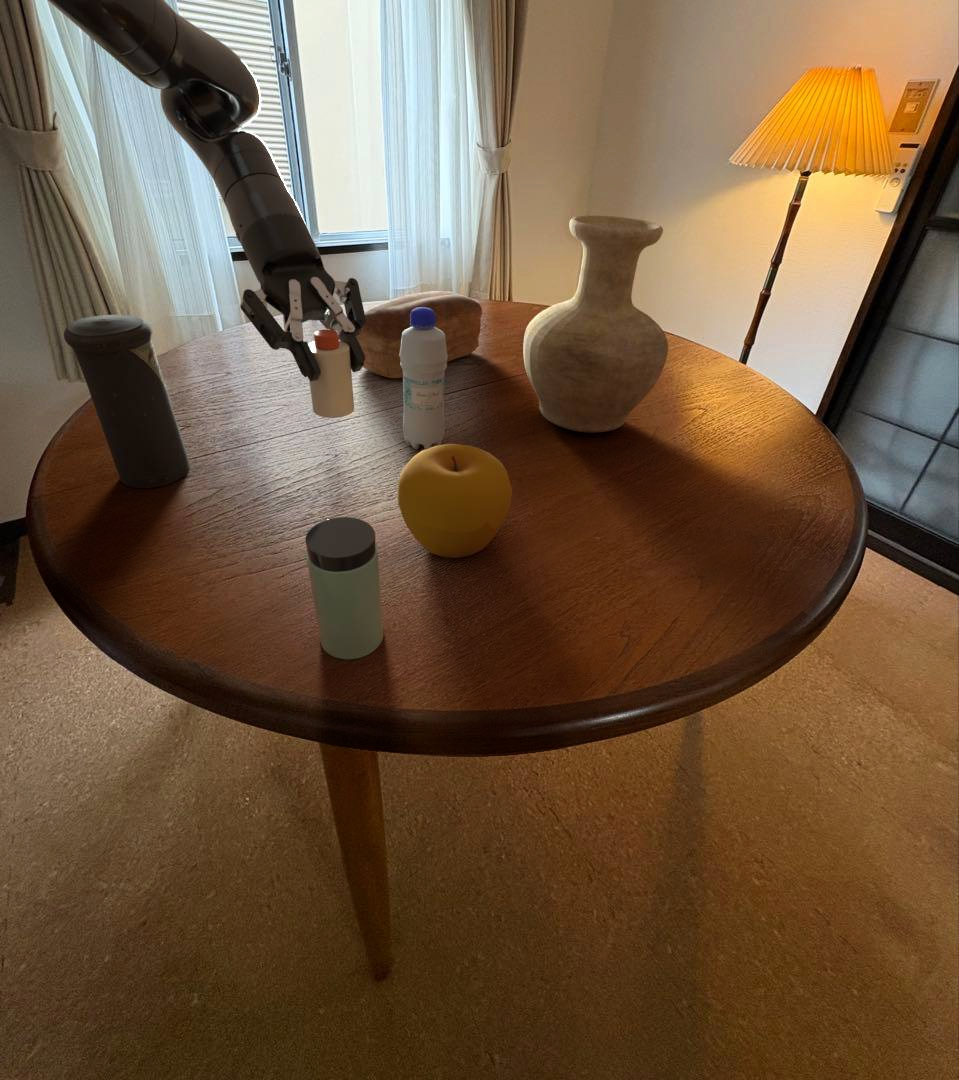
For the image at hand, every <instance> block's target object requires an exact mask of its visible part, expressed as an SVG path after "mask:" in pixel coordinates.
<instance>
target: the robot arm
mask: <svg viewBox="0 0 959 1080" xmlns="http://www.w3.org/2000/svg"><path fill="white" fill-rule="evenodd" d="M47 1H48V2H49V3H50V5H52V6H54V8H56V9H57V10H58V11H59V12H61V14H63V15H64V16H65V17H66V18H68V19H69V20H70V21H71V22H72V23H73V24H75V25H76V26H77V27H78V28H79V29H80V30H82V31H83V32H84V33H85V34H86V35H87V36H88V37H89V38H91V39H92V40H93V41H94V42H95V43H97V44H98V45H99V46H100V48H102V49H103V50H104V52H106V53H108V54H109V55H110V56H111V57H112V58H113V59H115V60H116V61H117V62H118V63H119V64H120V65H121V66H123V67H124V68H125V69H126V70H127V71H128V72H130V74H132V76H134V77H135V78H137V80H138V81H141V82H142V83H143V84H145V85H146V86H148V87H150V88H153V89H156V90H160V95H159V96H160V97H159V98H160V104H161V108H162V111H163V114H164V116H165V118H166V119H167V121H168V122H169V124H170V125H171V127H172V128H173V129H174V130H175V131H176V132H177V133H178V135H179V136H180V137H181V138H182V139H183V140H184V142H185V143H186V144H187V145H188V146H189V147H190V149H191V150H192V151H193V153H195V154H196V156H197V157H198V158H199V160H200V161H201V163H202V164H203V166H204V167H205V169H206V170H207V172H208V173H209V175H210V176H211V178H212V180H213V182H214V184H215V186H216V189H217V191H218V193H219V195H220V197H221V199H222V202H223V203H224V205H225V207H226V210H227V213H228V216H229V220H230V223H231V225H232V228H233V230H234V232H235V236H236V239H237V241H238V242H239V244H240V246H241V247H242V250H243V252H244V254H245V256H246V258H247V261H248V263H249V265H250V267H251V269H252V271H253V272H254V276H255V278H256V281H258V283H259V284H260V289H257V290H255V291H254V290H252V289H249V288H246V289H244V291H243V293H242V297H241V301H240V304H239V305H240V306H239V307H240V310H241V311H242V313H243V314H244V315H245V316H246V318H247V319H248V320H249V321H250V322H251V324H252V326H253V327H254V328H255V329H256V330H257V332H258V333H259V334H260V336H261V337H262V339H263V340H264V341H265V342H266V343H267V345H268V346H269V347H270V348H271V349H272V350H275V351H278V350H280V349H285V350H288V351H289V352H290V353H291V355H292V356H293V359H294V362H295V363H296V365H297V367H298V369H299V372H300V374H301V375H302V376H303V377H304V378H307V379H308V380H310V381H315V380H317V379H318V378H319V376H320V374H321V372H320V368H319V366H318V364H317V362H316V360H315V357H314V355H313V353H312V351H311V349H310V347H309V345H308V344H309V342H308V341H306V340H305V341H304V328H303V323H305V322H308V321H314V322H315V321H319V322H320V323H321V324H322V326H323V327H324V328H325V330H334V331H336V332H338V338H339V341H341V342H344V343H346V344H348V345H349V350H350V362H351V372H353V373H357V372H360V371H361V370H362V369H363V365H364V361H365V354H364V352H363V351H362V348H361V346H360V344H359V342H358V339H357V337H356V336H358V335H359V333H360V331H361V329H362V328H363V326H364V325H365V324H366V318H365V313H364V312H365V309H364V305H363V304H364V303H363V300H362V299H363V298H362V295H361V289H360V286H359V282H358V280H357V279H356V278H354V277H350V278H348V280H347V281H339V280H334V279H335V278H333V276H332V275H331V274H330V273H328V271H327V270H326V269H325V266H324V263H323V259H322V256H321V253H320V251H319V249H318V247H317V245H316V243H315V241H314V238H313V237H312V234H311V232H310V230H309V228H308V225H307V223H306V221H305V219H304V217H303V214H302V213H301V210H300V208H299V206H298V204H297V202H296V201H295V199H294V197H293V196H292V194H291V192H290V191H289V189H288V187H287V185H286V183H285V181H284V179H283V176H282V175H281V173H280V170H279V168H278V166H277V164H276V162H275V159H274V158H273V155H272V153H271V151H270V149H269V148H268V146H267V144H266V142H264V141H263V139H262V138H260V137H259V136H258V135H256V134H254V133H253V132H250V131H245V130H241V129H243V128H244V127H246V126H247V125H248V124H250V123H251V122H252V121H253V120H254V119H255V118H256V117H257V116H258V115H259V113H260V110H261V105H262V103H261V102H262V97H261V92H260V91H261V90H260V87H259V84H258V82H257V79H256V78H255V76H254V74H253V72H252V71H251V69H250V68H249V67H248V65H247V64H246V63H245V62H244V60H243V59H242V58H241V57H240V56H239V55H237V53H236V52H234V51H233V50H232V49H231V48H230V47H229V46H227V45H226V44H224V43H223V42H222V41H220V40H219V39H217V38H216V37H214V36H213V35H210V34H209V33H207V32H206V31H204V30H202V29H201V28H199V27H197V26H196V25H194V23H191V21H188V19H185V18H184V17H183V16H181V15H180V14H178V13H177V11H175V10H174V9H173V8H172V7H171V6H170V5H169V4H168V3H167V1H166V0H47ZM334 294H336V295H337V296H338V298H339V301H340V303H341V304H343V305H344V306H343V307H344V309H343V307H342V305H341V304H340V303H339V302H338V301H337V300H336V299H335V297H334ZM268 305H270V306H271V307H272V308H274V309H275V310H276V311H277V312H279V313H280V314H282V320H283V321H282V322H283V328H282V327H281V325H280V323H278V321H277V320H276V318H275V317H274V316H273V315H272V313H271V312H270V311H269V310H268ZM344 310H345V313H344Z"/></svg>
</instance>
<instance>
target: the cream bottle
mask: <svg viewBox="0 0 959 1080" xmlns="http://www.w3.org/2000/svg"><path fill="white" fill-rule="evenodd" d="M313 339H314V341H312V342H308V345H309V347H310V349H311V351H312V353H313V355H314V357H315V360H316V362H317V364H318V366H319V368H320V372H321V374H320V376H319V378H318V379H317V380H315V381H310V380H309V379H308V380H309V382H308V383H309V389H310V397H311V398H310V399H311V404H312V405H311V406H312V411H313V413H314V414H315V415H316V416H318V417H322V418H329V419H336V418H343V417H346V416H349V415H351V414H353V412H354V411H355V401H354V400H355V399H354V388H353V374H352V370H351V362H350V350H349V345H348V344H346V343H344V342H341V341H340V340H339V338H338V332H336V331H334V330H330V329H319V330H316V331H314V332H313Z"/></svg>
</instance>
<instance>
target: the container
mask: <svg viewBox="0 0 959 1080" xmlns="http://www.w3.org/2000/svg"><path fill="white" fill-rule="evenodd" d="M153 332H154V331H153V327H152V325H151V324H150V323H149V322H148V321H146V320H144V319H143V318H140V317H138V316H135V315H128V314H103V315H93V316H86V317H83V318H80V319H76V320H75V321H73V322H71V323H70V324H69V325H68V326H67V327H66V328H65V330H64V332H63V338H64V339H63V340H64V341H65V343H66V344H67V345H68V346H70V347H71V349H73V352H74V355H75V358H76V360H77V363H78V365H79V367H80V370H81V373H82V376H83V378H84V380H85V382H86V387H87V388H88V391H89V395H90V398H91V401H92V403H93V406H94V408H95V411H96V414H97V417H98V420H99V423H100V426H101V428H102V431H103V434H104V437H105V440H106V443H107V446H108V448H109V451H110V454H111V457H112V460H113V464H114V466H115V469H116V472H117V474H118V477H119V479H120V482H121V483H123V484H124V485H125V486H128V487H129V488H134V489H151V488H157V487H163V486H166V485H170V484H172V483H174V482H177V481H178V480H180V479H183V477H185V476H186V475H187V474H188V473H189V471H190V469H191V463H190V459H189V455H188V452H187V448H186V445H185V443H184V439H183V436H182V433H181V430H180V427H179V424H178V420H177V418H176V414H175V411H174V408H173V406H172V402H171V398H170V395H169V391H168V388H167V385H166V382H165V379H164V376H163V373H162V370H161V367H160V363H159V361H158V357H157V354H156V351H155V347H154V345H153V342H152V338H153V337H152V336H153Z"/></svg>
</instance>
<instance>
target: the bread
mask: <svg viewBox="0 0 959 1080" xmlns="http://www.w3.org/2000/svg"><path fill="white" fill-rule="evenodd" d="M419 307H425V308H430V309H432V310H433V311H434V313H435V317H436V323H435V327H436V328H438V329H439V330H441V331H443V332H444V334H445V338H446V348H447V355H448V358H447V362H446V363H448V362H451V361H453V360H455V359H456V360H457V359H459V358H462V357H467V356H468V355H470V354H472V353H473V352H475V351H476V350H477V349H478V347H479V346H480V344H479V343H480V342H479V338H480V333H481V328H482V327H481V326H482V324H481V323H482V322H481V321H482V319H481V318H482V316H483V308H482V306H481V304H480V303H479V302H477V301H476V300H475V299H473V298H471V297H469V296H465V295H462V294H459V293H456V292H453V291H445V290H441V291H440V290H431V291H424V292H418V293H410V294H409V293H408V294H405V295H400V296H399V297H396V298H392V299H390V300H387V301H385V302H382V303H378V304H376V305H373V306H372V307H370V308H368V309H366V310H364V313H365V318H366V324H365V325H364V326H363V328H362V329H361V331H360V333H359V335H358V336H356V337H357V339H358V342H359V344H360V346H361V348H362V351H363V352H364V354H365V361H364V365H363V367H362V369H365V370H367V371H368V372H370V373H372V374H375V375H378V376H381V377H385V378H389V379H401V378H402V379H403V369H402V367H401V365H400V363H401V359H400V348H401V338H402V333H403V331H404V330H406V329H408V328H410V327H412V326H411V323H410V315H411V311H412V310H413V309H415V308H419Z"/></svg>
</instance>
